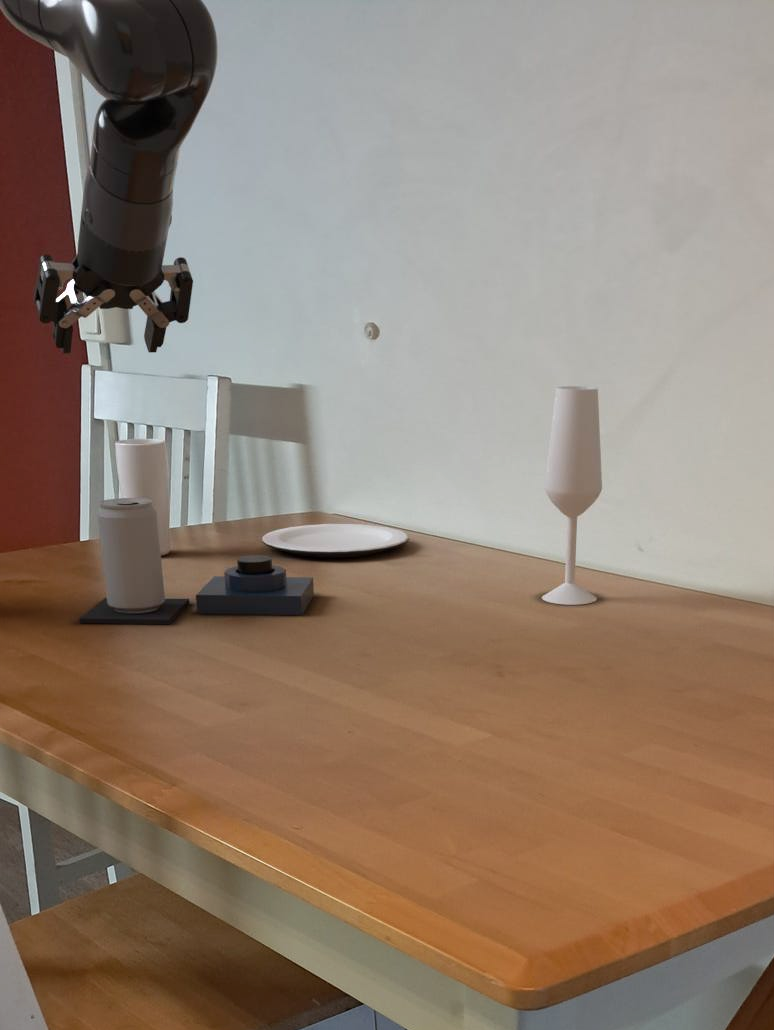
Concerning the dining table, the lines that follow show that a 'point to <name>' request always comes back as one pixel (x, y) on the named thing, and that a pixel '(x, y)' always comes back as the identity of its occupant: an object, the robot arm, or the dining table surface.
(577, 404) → the champagne flute
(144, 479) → the drinking glass
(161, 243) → the robot arm
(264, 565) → the button
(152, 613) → the coaster
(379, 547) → the plate
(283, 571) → the button box
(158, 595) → the beverage can
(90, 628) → the dining table surface
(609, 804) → the dining table surface
